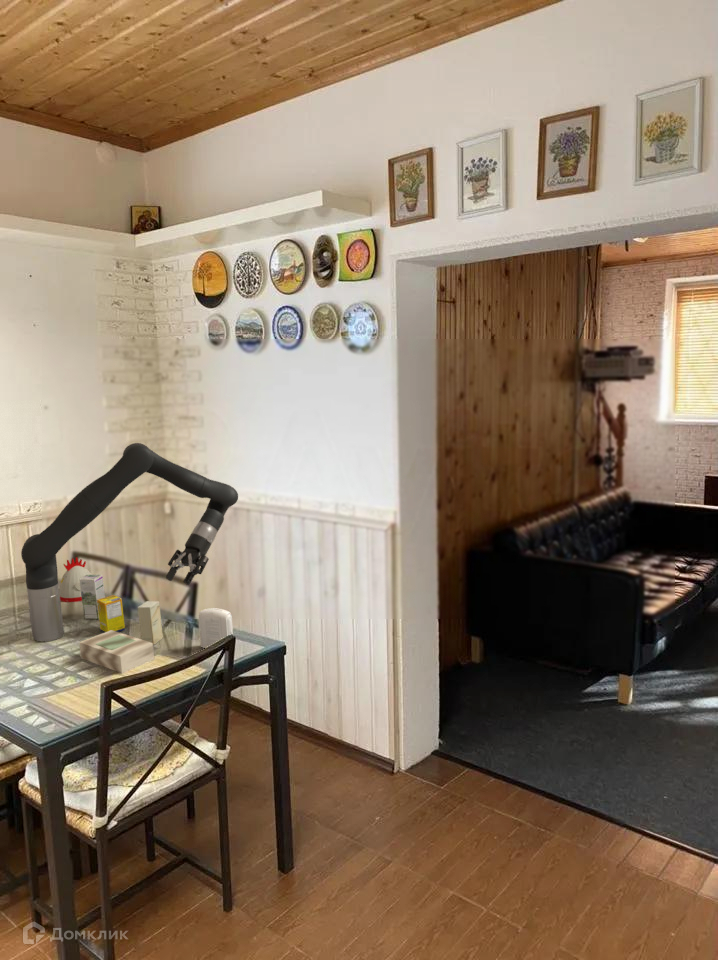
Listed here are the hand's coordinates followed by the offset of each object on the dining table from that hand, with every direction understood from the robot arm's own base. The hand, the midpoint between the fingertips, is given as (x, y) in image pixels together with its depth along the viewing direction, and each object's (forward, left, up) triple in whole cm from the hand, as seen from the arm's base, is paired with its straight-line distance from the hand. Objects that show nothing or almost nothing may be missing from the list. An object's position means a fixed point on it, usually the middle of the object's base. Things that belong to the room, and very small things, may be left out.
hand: (176, 581), depth 231 cm
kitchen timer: (-62, +3, -16) cm, 64 cm away
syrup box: (-36, -8, -16) cm, 40 cm away
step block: (+2, -26, -16) cm, 30 cm away
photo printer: (+22, -4, -16) cm, 28 cm away
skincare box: (0, -12, -16) cm, 20 cm away
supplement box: (-19, -13, -16) cm, 28 cm away
